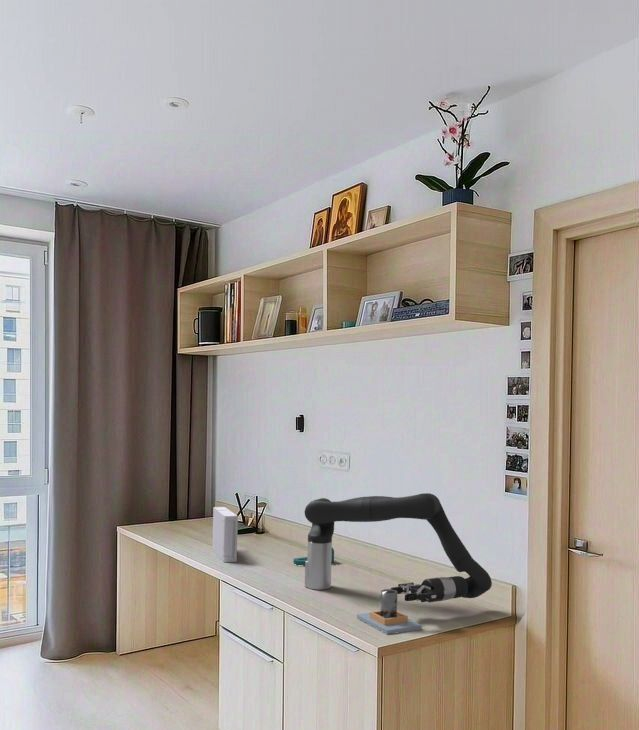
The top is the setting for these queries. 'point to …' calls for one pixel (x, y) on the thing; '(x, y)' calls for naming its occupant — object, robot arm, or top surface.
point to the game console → (225, 534)
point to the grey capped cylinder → (388, 603)
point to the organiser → (389, 622)
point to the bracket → (302, 560)
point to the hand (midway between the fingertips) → (398, 594)
